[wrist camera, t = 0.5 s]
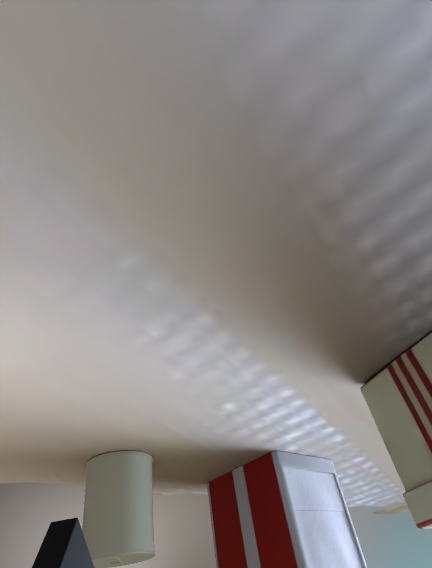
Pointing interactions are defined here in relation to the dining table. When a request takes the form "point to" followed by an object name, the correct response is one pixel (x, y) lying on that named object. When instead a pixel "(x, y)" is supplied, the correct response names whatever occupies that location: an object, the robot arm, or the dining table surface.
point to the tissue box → (282, 515)
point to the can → (119, 509)
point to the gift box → (407, 423)
